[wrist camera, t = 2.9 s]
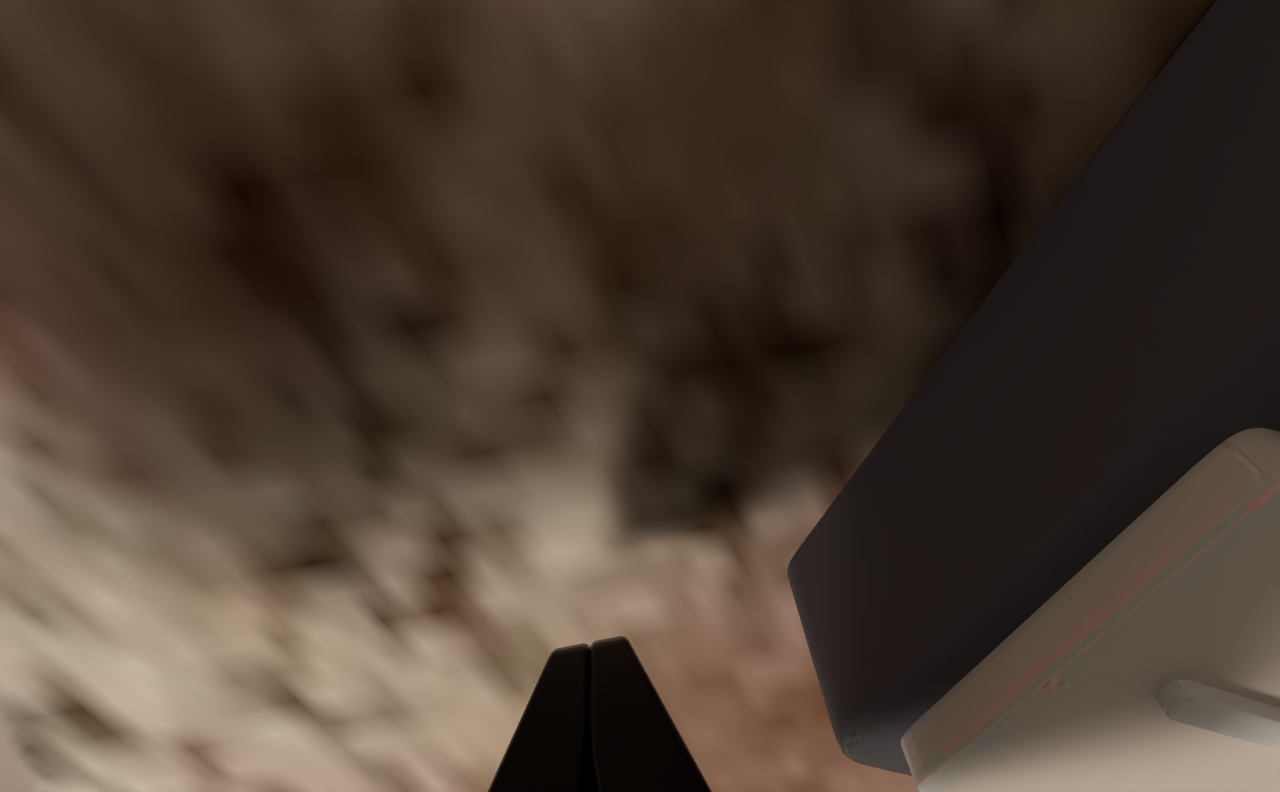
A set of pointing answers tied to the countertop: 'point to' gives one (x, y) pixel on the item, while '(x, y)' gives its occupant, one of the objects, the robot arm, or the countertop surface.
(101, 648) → the countertop surface
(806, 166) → the countertop surface
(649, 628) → the countertop surface
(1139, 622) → the calculator
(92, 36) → the countertop surface
